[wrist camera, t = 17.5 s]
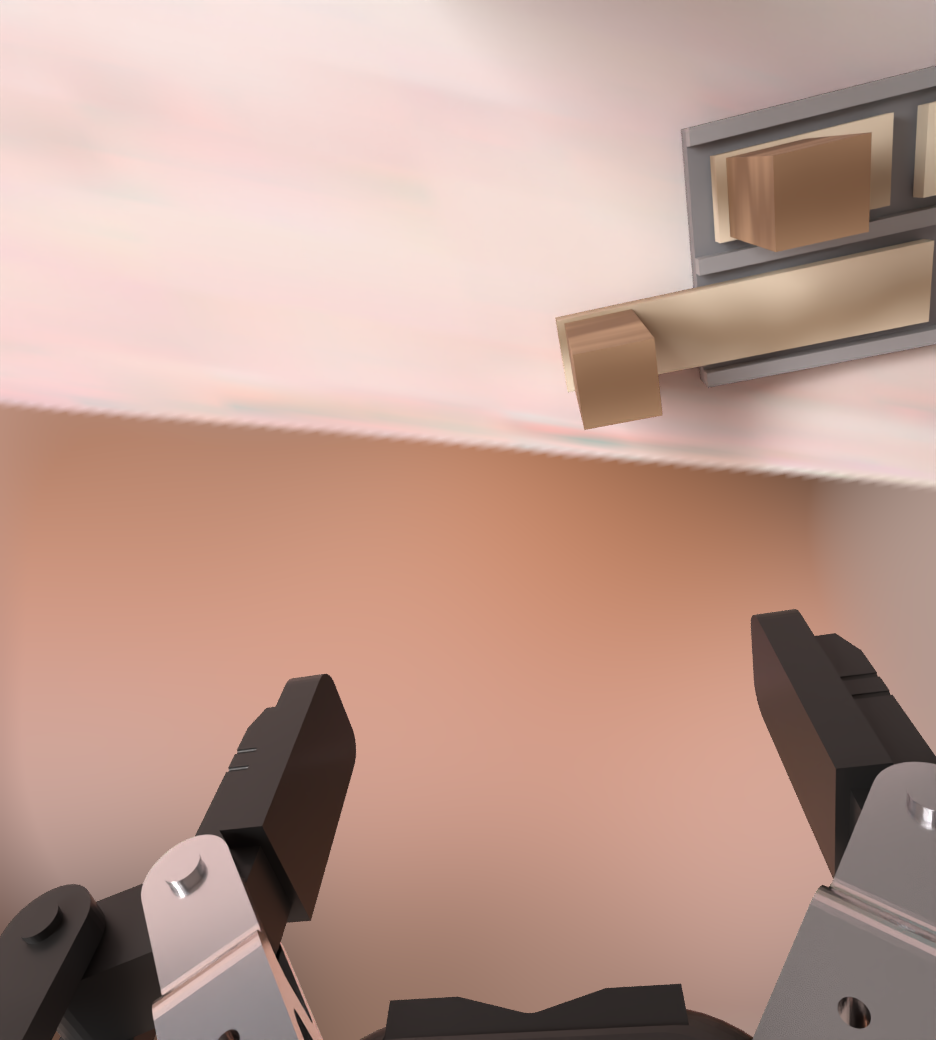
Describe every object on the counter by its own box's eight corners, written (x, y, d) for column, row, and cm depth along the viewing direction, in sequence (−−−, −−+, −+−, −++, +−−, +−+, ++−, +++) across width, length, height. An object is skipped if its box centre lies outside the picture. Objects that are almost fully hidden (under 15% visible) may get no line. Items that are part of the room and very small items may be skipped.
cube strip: (555, 317, 38) (563, 352, 31) (923, 239, 35) (1026, 257, 28) (566, 387, 40) (576, 435, 33) (918, 317, 37) (1013, 354, 30)
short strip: (709, 156, 34) (759, 153, 27) (883, 113, 33) (984, 99, 26) (715, 241, 36) (763, 259, 29) (880, 204, 34) (973, 214, 27)
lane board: (681, 129, 35) (691, 127, 33) (1154, 10, 31) (1199, -1, 29) (700, 379, 40) (710, 390, 38) (1104, 300, 37) (1138, 308, 35)
